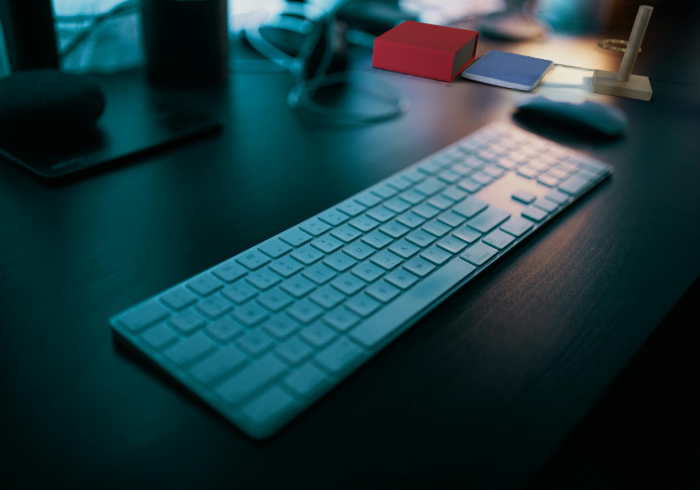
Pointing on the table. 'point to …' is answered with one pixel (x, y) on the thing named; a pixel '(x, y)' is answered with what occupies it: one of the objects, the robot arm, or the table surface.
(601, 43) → the ring
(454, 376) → the table surface
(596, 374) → the table surface
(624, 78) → the stand
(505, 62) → the tablet
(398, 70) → the red box
